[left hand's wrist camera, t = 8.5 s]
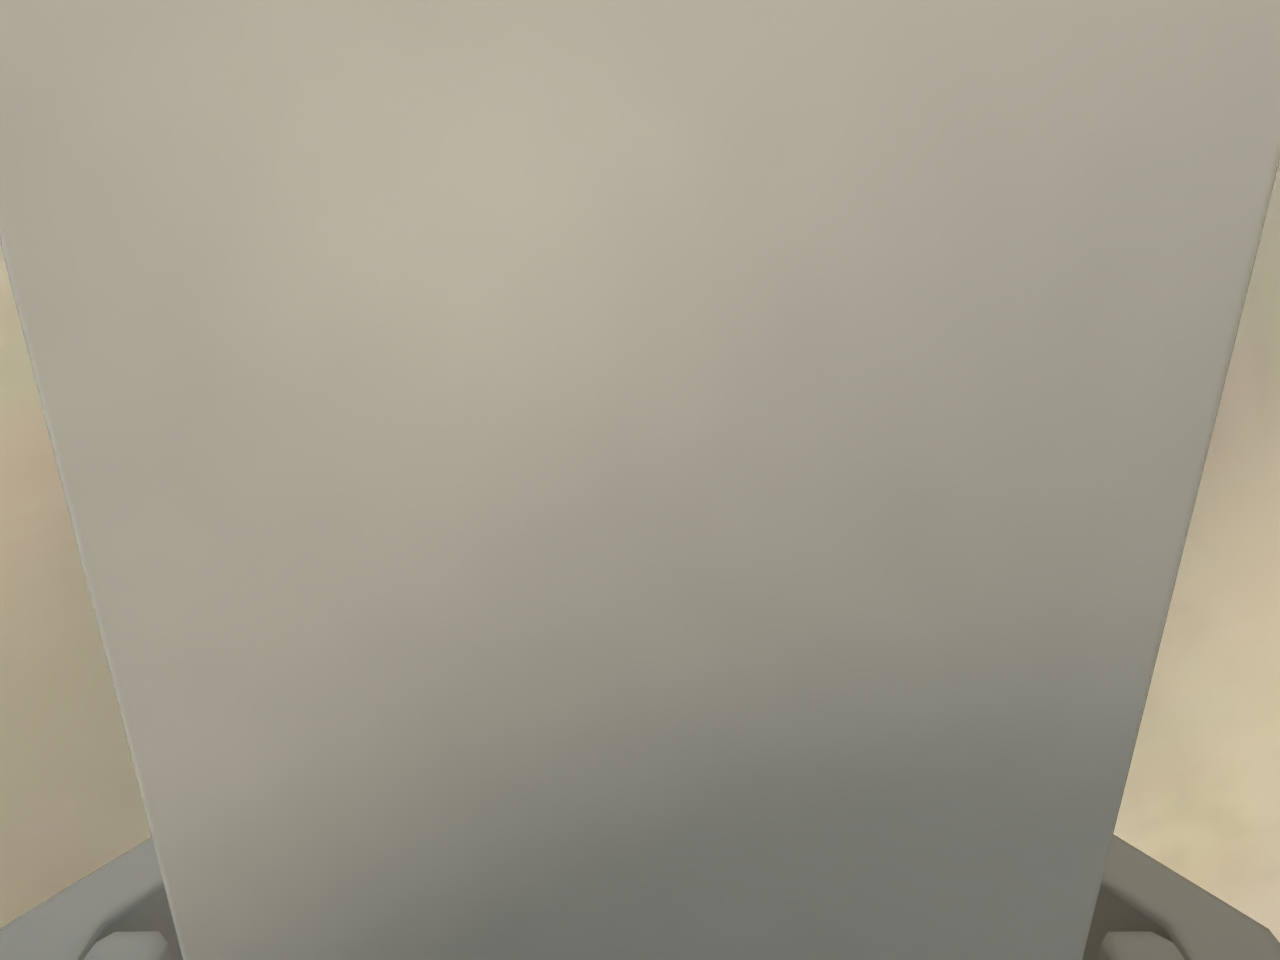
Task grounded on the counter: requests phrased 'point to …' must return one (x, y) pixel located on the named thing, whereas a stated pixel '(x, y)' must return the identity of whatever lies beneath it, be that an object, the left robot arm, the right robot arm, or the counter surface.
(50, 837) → the counter surface
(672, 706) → the bar
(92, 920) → the left robot arm
